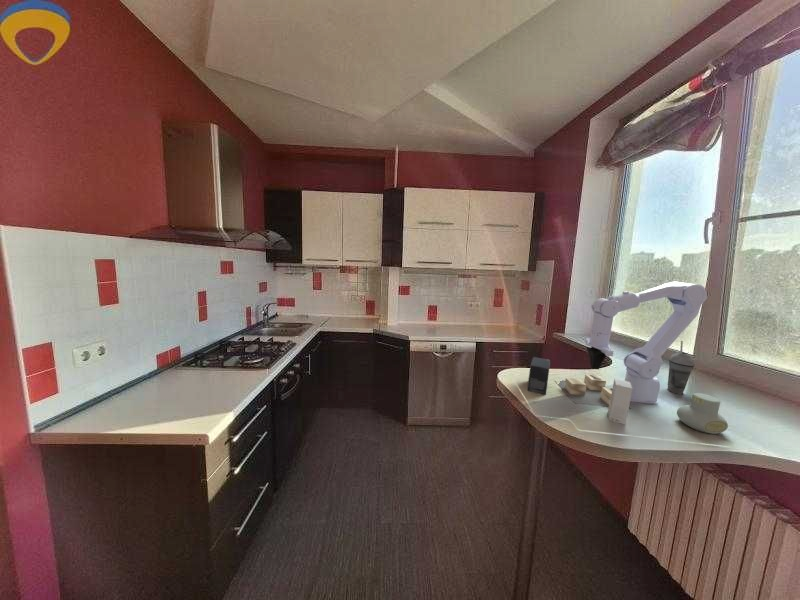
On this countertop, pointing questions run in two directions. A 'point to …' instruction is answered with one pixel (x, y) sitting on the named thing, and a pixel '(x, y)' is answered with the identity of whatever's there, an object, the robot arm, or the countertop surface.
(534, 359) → the small box
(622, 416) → the skincare box
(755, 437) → the countertop surface
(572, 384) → the plain block
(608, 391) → the marked block
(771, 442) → the countertop surface
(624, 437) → the countertop surface
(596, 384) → the marked block
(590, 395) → the mat
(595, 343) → the robot arm
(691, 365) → the beverage cup
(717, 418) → the air freshener
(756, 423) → the countertop surface
